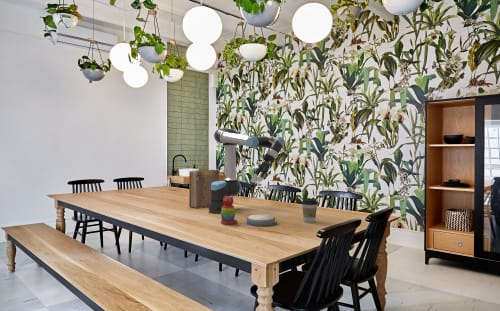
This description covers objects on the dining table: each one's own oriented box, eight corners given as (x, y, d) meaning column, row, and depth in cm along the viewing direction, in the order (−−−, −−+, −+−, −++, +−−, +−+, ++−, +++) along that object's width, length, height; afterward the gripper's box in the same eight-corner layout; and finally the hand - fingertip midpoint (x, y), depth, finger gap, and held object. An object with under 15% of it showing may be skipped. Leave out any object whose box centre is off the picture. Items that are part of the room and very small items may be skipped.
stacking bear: (238, 222, 233) (238, 195, 233) (233, 225, 224) (233, 197, 223) (223, 221, 237) (223, 195, 236) (217, 224, 227) (217, 197, 227)
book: (196, 208, 283) (196, 171, 282) (189, 207, 289) (189, 171, 288) (219, 204, 302) (219, 170, 301) (211, 203, 308) (211, 169, 307)
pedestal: (241, 224, 228) (241, 217, 228) (256, 218, 244) (256, 213, 244) (266, 227, 217) (266, 221, 217) (280, 222, 233) (280, 216, 233)
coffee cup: (307, 224, 228) (307, 201, 227) (297, 220, 238) (297, 199, 238) (321, 222, 233) (321, 200, 233) (311, 219, 243) (311, 197, 243)
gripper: (281, 157, 233) (265, 184, 228) (268, 161, 257) (253, 185, 251) (272, 151, 232) (256, 177, 226) (260, 155, 255) (245, 179, 250)
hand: (254, 181), depth 239 cm, fingers open, 13 cm apart
